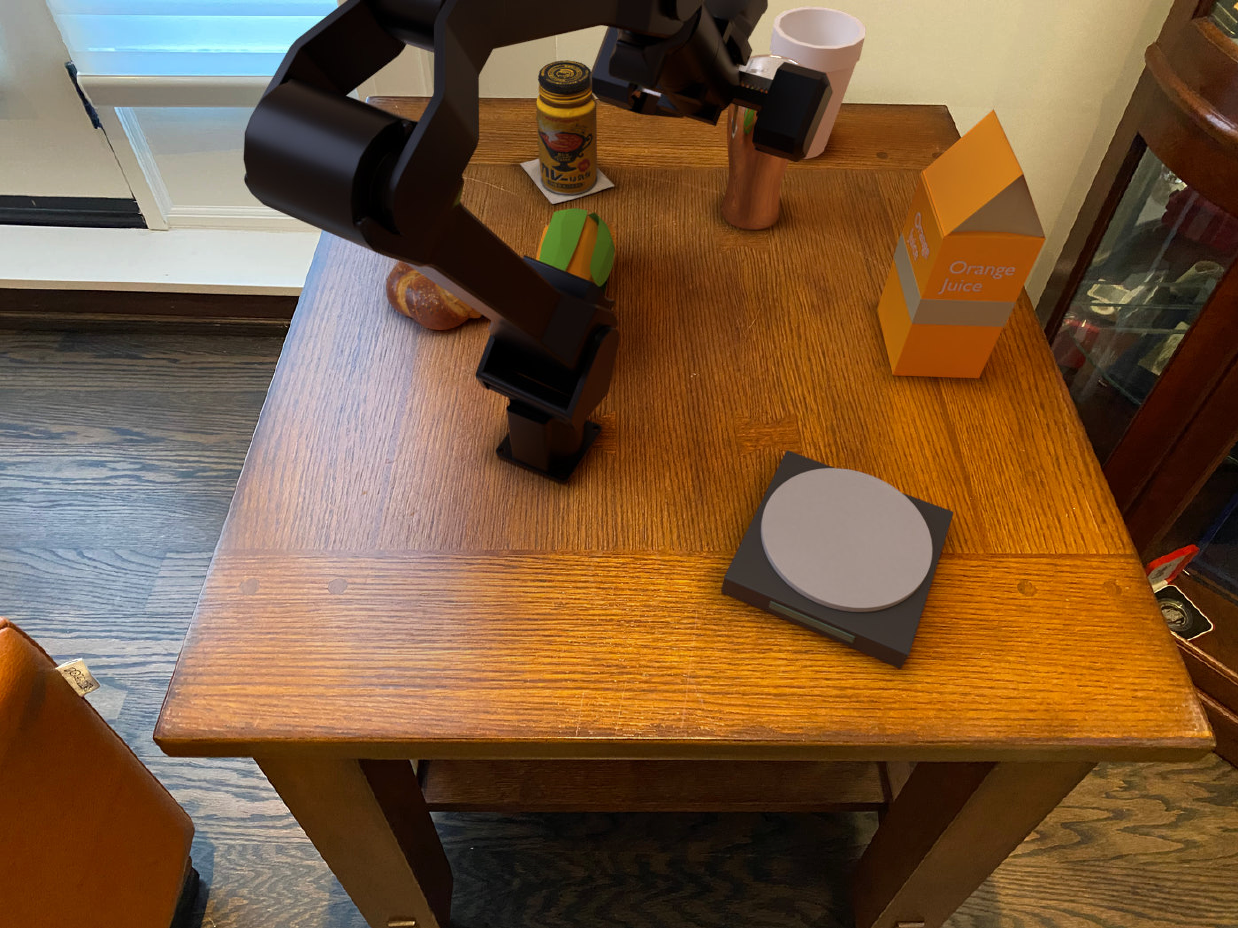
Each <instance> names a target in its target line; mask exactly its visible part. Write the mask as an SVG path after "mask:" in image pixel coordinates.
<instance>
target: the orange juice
mask: <svg viewBox="0 0 1238 928" xmlns="http://www.w3.org/2000/svg"><path fill="white" fill-rule="evenodd" d="M912 197H913V198H912V201H911V203H910V206H909V210H908V212H907V215H906V219H905V222H904V225H903V228H902V231H901V232H900V235H899V239H898V242H897V244H896V248H895V250H894V253H893V259H892V263H891V264H890V269H889V271H888V275H887V278H886V280H885V284H884V287H883V290H882V293H881V296H880V298H879V302H878V305H877V308H876V311H877V315H878V319H879V323H880V329H881V332H882V336H883V340H884V344H885V349H886V353H887V357H888V360H889V366H890V370H891V374H892V376H896V377H897V376H898V377H899V376H901V377H929V378H930V377H931V378H954V379H955V378H959V379H980V377H981V375H982V373H983V371H984V369H985V367H986V364H987V363H988V361H989V358H990V356H991V354H992V352H993V350H994V348H995V346H996V344H997V342H998V340H999V337H1000V336H1001V333H1002V331H1003V329H1004V328H1005V327H1006V324H1007V323H1008V321H1009V318H1010V316H1011V314H1012V313H1013V310H1014V308H1015V306H1016V304H1017V300H1018V298H1019V296H1020V294H1021V291H1022V289H1023V288H1024V286H1025V283H1026V281H1027V279H1028V278H1029V275H1030V273H1031V271H1032V270H1033V267H1034V264H1035V263H1036V261H1037V259H1038V256H1039V254H1040V252H1041V250H1042V248H1043V246H1044V244H1045V242H1046V241H1047V237H1046V235H1045V232H1044V229H1043V226H1042V224H1041V221H1040V218H1039V214H1038V211H1037V209H1036V205H1035V203H1034V200H1033V197H1032V194H1031V191H1030V187H1029V185H1028V182H1027V180H1026V176H1025V173H1024V171H1023V169H1022V166H1021V164H1020V162H1019V160H1018V159H1017V156H1016V154H1015V151H1014V149H1013V147H1012V145H1011V143H1010V141H1009V138H1008V137H1007V135H1006V132H1005V130H1004V128H1003V126H1002V124H1001V122H1000V120H999V117H998V115H997V113H996V110H995V109H994V108H993V109H992V110H991V111H990V112H988V113H987V114H986V115H985V116H983V118H982V119H980V120H979V121H978V122H977V123H976V124H975V125H974V126H973V127H972V128H970V129H969V130H968V131H967V132H966V133H964V135H962V136H961V137H960V138H959V139H958V140H957V141H955V142H954V144H952V145H951V146H950V147H949V148H948V149H947V150H946V151H944V152H943V153H942V154H941V155H940V156H938V157H937V158H936V159H935V160H934V161H933V162H932V163H931V164H930V165H928V166H927V167H926V168H925V169H922V170H921V172H920V176H919V179H918V182H917V185H916V189H915V192H914V194H913V196H912Z"/></svg>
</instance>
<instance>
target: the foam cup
mask: <svg viewBox="0 0 1238 928" xmlns="http://www.w3.org/2000/svg"><path fill="white" fill-rule="evenodd" d="M866 31H867V28H866V27H865V25H864V24H863V23H862V22H861V20H859V18H857V17H855V16H853V15H851V14H849V13H847V12H845V11H843V10H840V9H839V10H838V9H834V8H829V7H825V6H799V7H795V8H791V9H786V10H785V11H783V12H781V13H780V14H778V15H776V16H775V17H774V22H773V25H772V31H771V37H770V44H769V50H770V52H771V54H770V55H779V56H784V57H788V58H791V59H793V60H795V61H797V62H799V63H800V64H802V65H803V66H804V67H806V68H809V69H813V70H817V71H820V72H824V73H826V74H827V77H828V79H829V82H830V84H831V87H832V91H833V93H832V96H831V98H830V101H829V103H828V105H827V108H826V110H825V113H824V115H823V117H822V120H821V122H820V125H819V127H818V129H817V132H816V134H815V137H814V139H813V142H812V144H811V146H810V149H809V151H808V154H807V156H806V157H805V158H803V159H802V160H808V159H811V158H816V157H818V156H819V155H821V154H822V153H823V152H825V147H826V146H827V144H828V142H829V139H830V136H831V133H832V130H833V128H834V125H835V122H836V120H837V118H838V114H839V112H840V108H841V106H842V103H843V100H844V98H845V95H846V92H847V90H848V87H849V85H850V82H851V79H852V76H853V73H854V72H855V69H856V66H857V63H858V62H859V61H860V60H861V55H862V51H863V46H864V42H865V37H866Z"/></svg>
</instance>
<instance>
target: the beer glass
mask: <svg viewBox="0 0 1238 928" xmlns="http://www.w3.org/2000/svg"><path fill="white" fill-rule="evenodd" d="M784 62H787V63H791V64H794V65H798V66H802V67H804V66H803V65H802V64H800V63H799V62H797V61H795V60H793V59H791V58H788V57H784V56H779V55H771V54H768V53H767V54H764V53H763V54H755V55H751V56H750V58H749V61H748V63H747V65H746V66H743V65H740V67H739V70H740V71H743V72H747V73H750V74H754V75H758V76H761V77H765V78H768V79H772V80H773V78H774V76H775V73H776V71H777V68H778V67H779V66H780V65H781V64H783V63H784ZM742 86H744V83H743V85H742ZM747 87H748V85H747ZM751 89H753V86H752V88H751ZM756 90H758V87H757V89H756ZM761 91H762V89H761ZM765 93H767V90H766V92H765ZM727 109H728V110H727V121H726V145H727V147H726V148H727V161H728V162H727V163H728V181H727V186H726V189H725V193H724V196H723V198H722V202H721V205H720V214H721V216H722V218H723V219H724V220H725V221H726V222H727V223H728V224H729V225H731V226H733V227H735V228H738V229H742V230H745V231H746V230H747V231H760V230H764V229H767V228H770V227H772V226H773V225H775V224H776V223H777V222H778V221H779V220H778V219H779V217H780V211H781V209H780V208H781V207H780V206H781V204H780V202H781V201H780V191H781V187H782V181H783V179H784V176H785V173H786V170H787V167H788V166H789V162H790V160H788V159H783V158H779V157H776V156H773V155H770V154H766V153H763V152H760V151H757V150H755V146H754V145H753V143H752V137H753V130H754V125H755V122H756V120H757V118H758V115H759V113H760V112H758V111H755V110H751V109H748V108H745V107H741V106H738V105H735V104H730V105H729V106H728V108H727Z"/></svg>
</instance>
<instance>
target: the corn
mask: <svg viewBox="0 0 1238 928" xmlns="http://www.w3.org/2000/svg"><path fill="white" fill-rule="evenodd" d="M615 250H616V246H615V242H614V239H613V237H612V233H611V230H610V227H609V225H608V224H607V222H605V221H604V220H603V218H601V216H600V215H599V214H597V213H596V212H595V211H593V212H591V213H588V210H587V209H582V208H577V207H572V208H566V209H561V210H557V211H554V212H553V214H552V217H551V219H550V222H549V223H548V225H546V226H545V227H544V228H543V231H542V235H541V237H540V243H539V245H538V248H537V252H536V257H535V259H536V260H539V261H541V262H544V263H546V264H549V265H551V266H554V267H556V268H559V269H561V270H564V271H566V272H569V273H571V274H574V275H576V276H579V277H581V278H584V279H586V280H589V281H591V282H594V283H595V284H596V285H597V286H598V287H599V288H600V289H601V290H602V292H603V294H604V296H605V297H606V292H607V288H608V282H609V279H610V278H609V277H610V273H611V271H612V268H613V266H614V265H613V264H614V257H615Z"/></svg>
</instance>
